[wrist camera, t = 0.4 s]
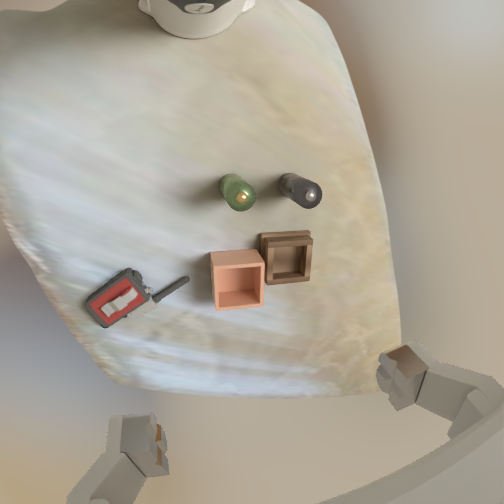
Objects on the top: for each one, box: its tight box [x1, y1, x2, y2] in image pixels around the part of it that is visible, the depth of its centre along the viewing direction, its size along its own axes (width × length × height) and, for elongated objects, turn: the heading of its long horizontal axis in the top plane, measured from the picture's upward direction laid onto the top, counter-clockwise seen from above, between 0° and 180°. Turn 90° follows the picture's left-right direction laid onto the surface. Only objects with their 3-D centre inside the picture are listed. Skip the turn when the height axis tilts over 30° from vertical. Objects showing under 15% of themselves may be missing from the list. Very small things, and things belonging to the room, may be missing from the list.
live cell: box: [219, 174, 256, 211], centre depth 47 cm, size 4×4×10 cm
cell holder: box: [260, 230, 313, 285], centre depth 56 cm, size 9×9×4 cm
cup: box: [210, 249, 265, 311], centre depth 54 cm, size 8×8×6 cm
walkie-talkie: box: [86, 268, 189, 328], centre depth 53 cm, size 9×4×20 cm
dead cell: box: [278, 173, 322, 209], centre depth 49 cm, size 4×4×10 cm
